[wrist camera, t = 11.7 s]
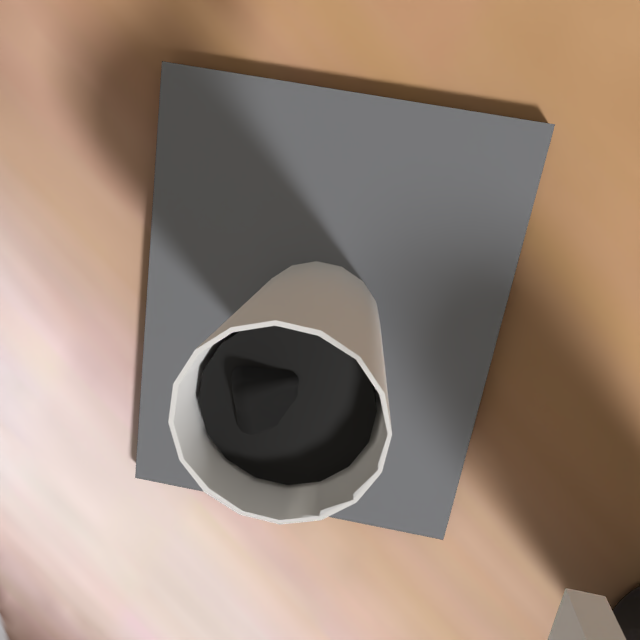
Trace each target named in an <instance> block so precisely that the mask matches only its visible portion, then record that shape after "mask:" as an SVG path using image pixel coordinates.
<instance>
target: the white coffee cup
mask: <svg viewBox="0 0 640 640" xmlns="http://www.w3.org/2000/svg"><path fill="white" fill-rule="evenodd" d="M168 423H169V427H170V430H171V433H172V437H173V440H174V444H175V447H176V450H177V454H178V457H179V460H180V462H181V463H182V464H183V465H184V467H185V468H186V469H187V471H188V472H189V473H190V474H191V476H192V477H193V478H194V480H195V481H196V482H197V483H198V485H199V486H200V487H201V489H202V490H203V491H204V492H205V493H206V494H208V495H209V496H211V497H213V498H214V499H216V500H217V501H219V502H220V503H222V504H224V505H225V506H227V507H228V508H230V509H231V510H233V511H235V512H236V513H238V514H239V515H243V516H247V517H252V518H256V519H260V520H264V521H268V522H272V523H276V524H289V523H299V522H309V521H319V520H323V519H325V518H327V517H329V516H331V515H333V514H335V513H337V512H339V511H341V510H343V509H345V508H347V507H349V506H351V505H353V504H355V503H357V501H358V500H359V499H360V498H361V497H362V495H363V494H364V493H365V492H366V491H367V490H368V488H369V487H370V486H371V485H372V484H373V482H374V481H375V480H376V479H377V478H378V477H379V475H380V474H381V473H382V470H383V466H384V463H385V459H386V455H387V452H388V448H389V444H390V441H391V437H392V428H391V419H390V410H389V401H388V392H387V382H386V373H385V364H384V355H383V345H382V336H381V326H380V320H379V314H378V308H377V303H376V301H375V299H374V298H373V296H372V295H371V293H370V291H369V290H368V288H367V287H366V285H365V284H364V282H363V281H362V280H360V279H359V278H357V277H356V276H355V275H353V274H352V273H350V272H349V271H347V270H346V269H344V268H343V267H341V266H336V265H332V264H327V263H323V262H318V261H314V262H309V263H303V264H297V265H292V266H290V267H289V268H287V269H285V270H284V271H282V272H281V273H279V274H278V275H276V276H275V277H273V278H271V280H270V281H268V282H267V283H266V284H265V285H264V286H263V287H262V288H261V289H260V290H259V291H258V292H257V293H256V294H254V295H253V296H252V297H251V298H250V299H249V300H248V301H247V302H246V303H245V304H244V305H243V306H242V307H241V308H239V309H238V310H237V311H236V312H235V313H234V314H233V315H232V316H231V317H230V318H229V319H228V320H227V321H225V322H224V323H223V324H222V325H221V326H220V327H219V328H218V329H217V330H216V331H215V332H214V333H213V334H212V335H210V336H209V337H208V338H207V339H206V340H205V341H204V342H203V343H202V344H201V345H200V346H199V347H198V348H196V349H195V351H194V352H193V354H192V355H191V357H190V358H189V360H188V361H187V363H186V365H185V366H184V368H183V369H182V371H181V372H180V374H179V375H178V377H177V379H176V380H175V382H174V383H173V390H172V397H171V405H170V412H169V420H168Z"/></svg>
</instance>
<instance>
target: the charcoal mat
mask: <svg viewBox="0 0 640 640" xmlns="http://www.w3.org/2000/svg"><path fill="white" fill-rule="evenodd" d="M554 126H555V124H549V123H542V122H536V121H530V120H524V119H518V118H511V117H505V116H499V115H493V114H487V113H480V112H474V111H468V110H462V109H455V108H449V107H443V106H437V105H431V104H424V103H418V102H412V101H406V100H399V99H393V98H387V97H381V96H375V95H368V94H362V93H356V92H350V91H344V90H337V89H331V88H325V87H319V86H312V85H306V84H300V83H294V82H288V81H281V80H275V79H269V78H263V77H256V76H250V75H244V74H238V73H232V72H225V71H219V70H213V69H207V68H201V67H194V66H188V65H182V64H176V63H169V62H163V61H162V69H161V85H160V100H159V116H158V132H157V147H156V163H155V178H154V194H153V210H152V225H151V241H150V256H149V272H148V288H147V303H146V319H145V334H144V350H143V366H142V381H141V397H140V412H139V428H138V444H137V459H136V475H135V478H139V479H144V480H149V481H154V482H159V483H164V484H169V485H174V486H179V487H184V488H189V489H194V490H199V491H203V490H202V489H201V487H200V486H199V485H198V483H197V482H196V481H195V480H194V478H193V477H192V476H191V474H190V473H189V472H188V471H187V469H186V468H185V467H184V465H183V464H182V463H181V462H180V460H179V457H178V454H177V450H176V447H175V444H174V440H173V437H172V433H171V430H170V427H169V423H168V420H169V412H170V405H171V397H172V390H173V383H174V382H175V380H176V379H177V377H178V375H179V374H180V372H181V371H182V369H183V368H184V366H185V365H186V363H187V361H188V360H189V358H190V357H191V355H192V354H193V352H194V351H195V349H196V348H198V347H199V346H200V345H201V344H202V343H203V342H204V341H205V340H206V339H207V338H208V337H209V336H210V335H212V334H213V333H214V332H215V331H216V330H217V329H218V328H219V327H220V326H221V325H222V324H223V323H224V322H225V321H227V320H228V319H229V318H230V317H231V316H232V315H233V314H234V313H235V312H236V311H237V310H238V309H239V308H241V307H242V306H243V305H244V304H245V303H246V302H247V301H248V300H249V299H250V298H251V297H252V296H253V295H254V294H256V293H257V292H258V291H259V290H260V289H261V288H262V287H263V286H264V285H265V284H266V283H267V282H268V281H270V280H271V278H273V277H275V276H276V275H278V274H279V273H281V272H282V271H284V270H285V269H287V268H289V267H290V266H292V265H297V264H303V263H309V262H314V261H318V262H323V263H327V264H332V265H336V266H341V267H343V268H344V269H346V270H347V271H349V272H350V273H352V274H353V275H355V276H356V277H357V278H359V279H360V280H362V281H363V282H364V284H365V285H366V287H367V288H368V290H369V291H370V293H371V295H372V296H373V298H374V299H375V301H376V303H377V308H378V314H379V320H380V326H381V336H382V345H383V355H384V364H385V373H386V382H387V392H388V401H389V410H390V419H391V428H392V437H391V441H390V444H389V448H388V452H387V455H386V459H385V463H384V466H383V470H382V473H381V474H380V475H379V477H378V478H377V479H376V480H375V481H374V482H373V484H372V485H371V486H370V487H369V488H368V490H367V491H366V492H365V493H364V494H363V495H362V497H361V498H360V499H359V500H358V501H357V503H355V504H353V505H351V506H349V507H347V508H345V509H343V510H341V511H339V512H337V513H335V514H333V515H331V516H329V517H332V518H337V519H342V520H347V521H352V522H357V523H362V524H367V525H372V526H377V527H382V528H387V529H392V530H397V531H402V532H407V533H412V534H417V535H422V536H427V537H432V538H436V539H441V540H443V539H444V535H445V531H446V528H447V524H448V520H449V516H450V513H451V509H452V505H453V501H454V498H455V494H456V490H457V487H458V483H459V479H460V475H461V472H462V468H463V464H464V461H465V457H466V453H467V449H468V446H469V442H470V438H471V435H472V431H473V427H474V423H475V420H476V416H477V412H478V408H479V405H480V401H481V397H482V394H483V390H484V386H485V382H486V379H487V375H488V371H489V368H490V364H491V360H492V356H493V353H494V349H495V345H496V341H497V338H498V334H499V330H500V327H501V323H502V319H503V315H504V312H505V308H506V304H507V301H508V297H509V293H510V289H511V286H512V282H513V278H514V275H515V271H516V267H517V263H518V260H519V256H520V252H521V248H522V245H523V241H524V237H525V234H526V230H527V226H528V222H529V219H530V215H531V211H532V208H533V204H534V200H535V196H536V193H537V189H538V185H539V181H540V178H541V174H542V170H543V167H544V163H545V159H546V155H547V152H548V148H549V144H550V141H551V137H552V133H553V129H554Z"/></svg>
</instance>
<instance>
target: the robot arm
mask: <svg viewBox="0 0 640 640" xmlns="http://www.w3.org/2000/svg"><path fill="white" fill-rule="evenodd" d="M548 640H626V638H625V636H624V634H623V632H622V630H621V628H620V626H619V624H618V621H617V619H616V617H615V615H614V613H613V611H612V609H611V607H610V605H609V603H608V601H607V599H606V597H605V596H602V595H597V594H592V593H588V592H583V591H578V590H573V589H568V588H566V589H565V592H564V594H563V597H562V600H561V603H560V606H559V609H558V612H557V614H556V617H555V620H554V623H553V626H552V629H551V632H550V634H549V637H548Z"/></svg>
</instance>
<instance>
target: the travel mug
mask: <svg viewBox="0 0 640 640" xmlns="http://www.w3.org/2000/svg"><path fill="white" fill-rule="evenodd" d="M613 613H614V615H615V617H616V619H617V621H618V624H619V626H620V628H621V630H622V632H623V634H624V636H625V638H626V640H640V586H639V587H638V588H636V589H634V590H633V591H631V592H630V593H629V594H627V595H626V596H625V597H624V598H623V599H622V600H621V601H620V602H619V603H618V604H617V606H616V607H615V608H614V610H613Z"/></svg>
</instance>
